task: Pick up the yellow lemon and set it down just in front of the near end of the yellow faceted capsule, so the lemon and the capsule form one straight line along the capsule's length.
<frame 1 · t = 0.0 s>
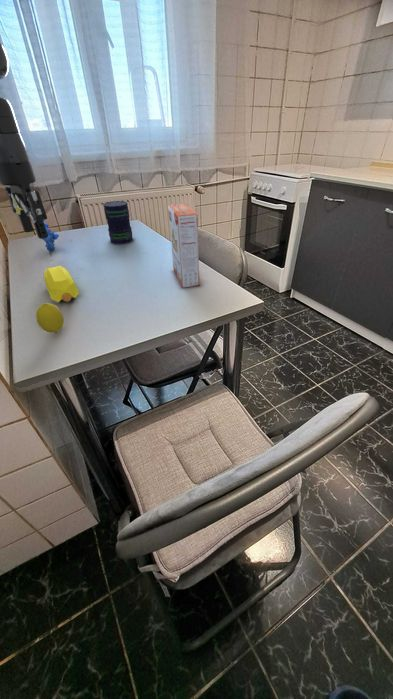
hand: (36, 234, 75), 18 cm above the table, tool pointing down, fingers open, 8 cm apart
cracker box: (185, 279, 95), on the table
storage jar: (122, 241, 129), on the table
lemon: (55, 333, 71), on the table
grapes: (54, 251, 120), on the table
yellow faceted capsule: (63, 293, 89), on the table
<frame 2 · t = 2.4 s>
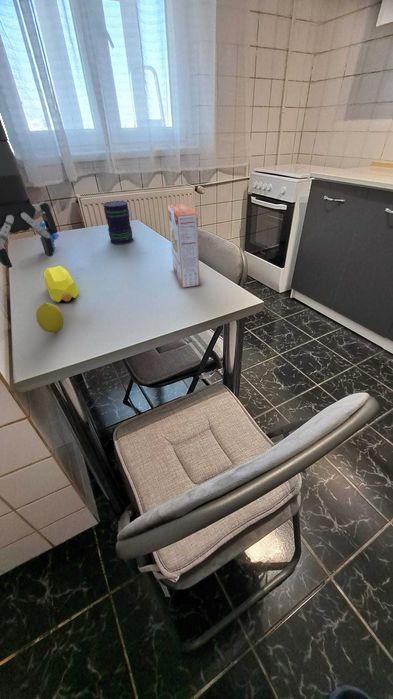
hand: (29, 260, 62), 17 cm above the table, tool pointing down, fingers open, 8 cm apart
nothing on the table moved.
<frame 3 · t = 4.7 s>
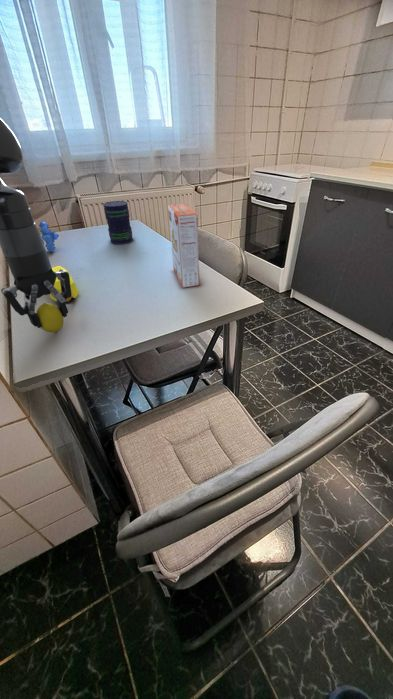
hand: (51, 320, 69), 4 cm above the table, tool pointing down, fingers closed on lemon, 5 cm apart
lemon: (55, 333, 71), on the table, touching gripper
everything else where it was.
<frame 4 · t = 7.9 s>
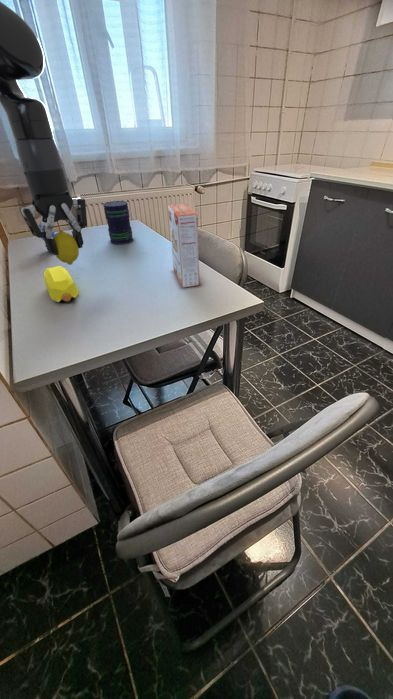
hand: (67, 250, 69), 17 cm above the table, tool pointing down, fingers closed on lemon, 5 cm apart
lemon: (70, 265, 72), point 13 cm above the table, touching gripper
everything else where it was.
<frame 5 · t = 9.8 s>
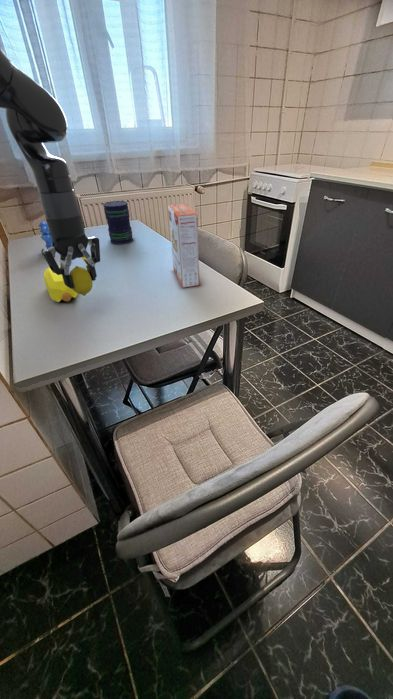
hand: (82, 283, 76), 7 cm above the table, tool pointing down, fingers closed on lemon, 5 cm apart
lemon: (84, 296, 78), point 4 cm above the table, touching gripper
everything else where it was.
when the fingers open (4 cm above the table, at t = 11.3 s): lemon stays where it is, on the table.
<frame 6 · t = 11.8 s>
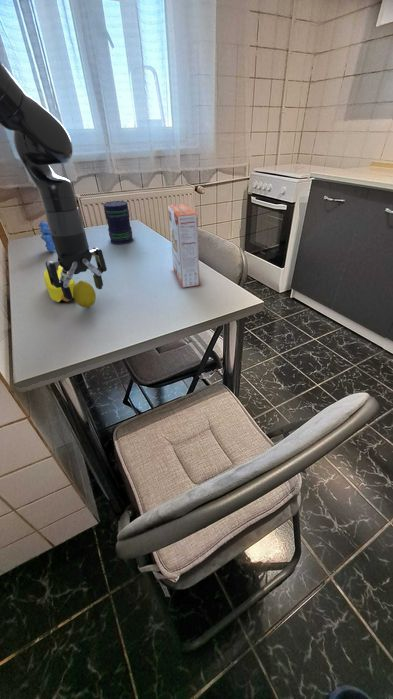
hand: (85, 293, 78), 4 cm above the table, tool pointing down, fingers open, 8 cm apart
lemon: (88, 308, 81), on the table
everything else where it was.
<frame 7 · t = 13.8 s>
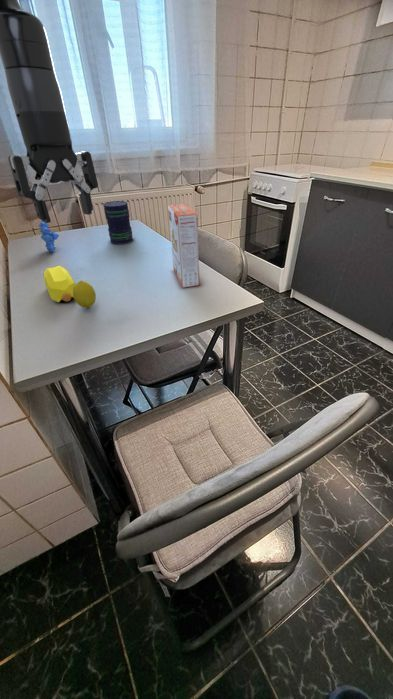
hand: (68, 218, 57), 26 cm above the table, tool pointing down, fingers open, 8 cm apart
nothing on the table moved.
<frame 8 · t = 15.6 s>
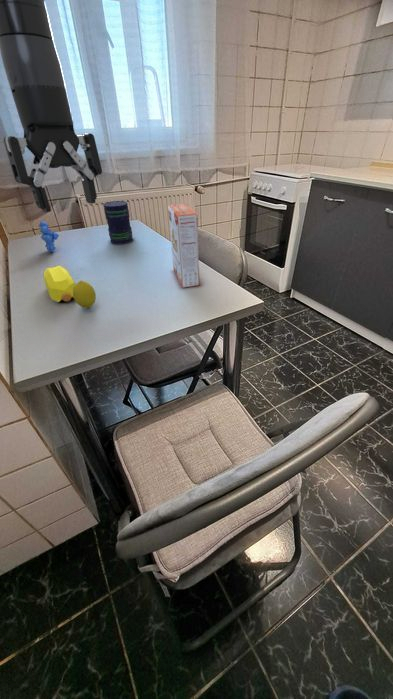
hand: (69, 207, 52), 28 cm above the table, tool pointing down, fingers open, 8 cm apart
nothing on the table moved.
at the end: lemon 0.1 cm from the target spot, on the table; the gripper is holding nothing; yellow faceted capsule moved 0.2 cm from its start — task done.
